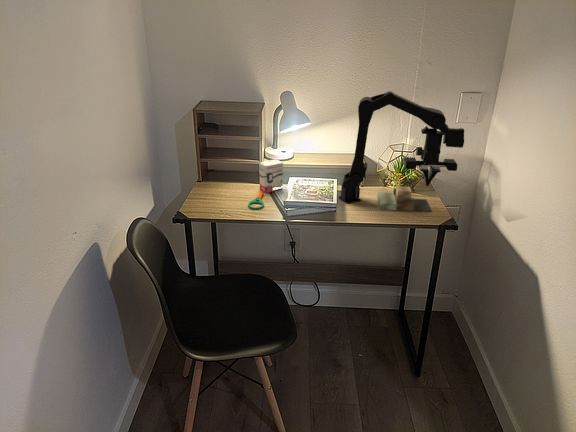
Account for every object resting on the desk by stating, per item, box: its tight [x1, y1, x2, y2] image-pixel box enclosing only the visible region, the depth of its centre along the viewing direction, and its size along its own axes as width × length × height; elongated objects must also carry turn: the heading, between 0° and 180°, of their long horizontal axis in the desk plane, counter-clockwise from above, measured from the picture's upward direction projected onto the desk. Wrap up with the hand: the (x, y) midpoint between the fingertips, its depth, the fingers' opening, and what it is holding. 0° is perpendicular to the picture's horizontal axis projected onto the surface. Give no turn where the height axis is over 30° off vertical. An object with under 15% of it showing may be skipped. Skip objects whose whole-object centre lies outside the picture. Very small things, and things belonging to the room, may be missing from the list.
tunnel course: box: [376, 187, 432, 213], centre depth 189 cm, size 19×11×4 cm, turn 86°
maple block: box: [395, 185, 413, 199], centre depth 188 cm, size 5×5×4 cm
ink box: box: [258, 158, 284, 194], centre depth 200 cm, size 8×5×12 cm, turn 123°
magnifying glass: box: [247, 190, 265, 211], centre depth 191 cm, size 15×6×2 cm, turn 173°
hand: (426, 185), depth 186 cm, fingers closed
